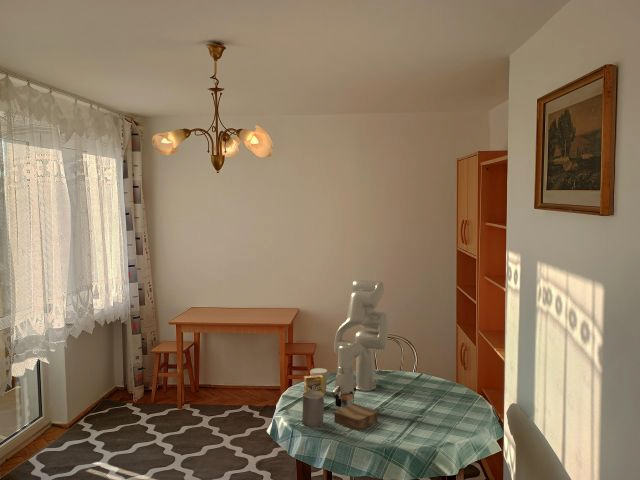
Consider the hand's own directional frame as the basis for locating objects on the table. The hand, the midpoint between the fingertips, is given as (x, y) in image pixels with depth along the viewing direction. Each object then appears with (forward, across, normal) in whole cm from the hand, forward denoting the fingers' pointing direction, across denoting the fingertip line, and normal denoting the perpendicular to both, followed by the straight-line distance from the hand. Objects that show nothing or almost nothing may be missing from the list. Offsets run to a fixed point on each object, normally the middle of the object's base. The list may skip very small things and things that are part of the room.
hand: (344, 403), depth 287 cm
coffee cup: (+2, -7, -24) cm, 25 cm away
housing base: (+2, 0, 0) cm, 2 cm away
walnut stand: (+2, +11, +16) cm, 19 cm away
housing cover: (-3, 0, 0) cm, 3 cm away
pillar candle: (+2, +26, +3) cm, 26 cm away
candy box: (+2, +10, -12) cm, 16 cm away
